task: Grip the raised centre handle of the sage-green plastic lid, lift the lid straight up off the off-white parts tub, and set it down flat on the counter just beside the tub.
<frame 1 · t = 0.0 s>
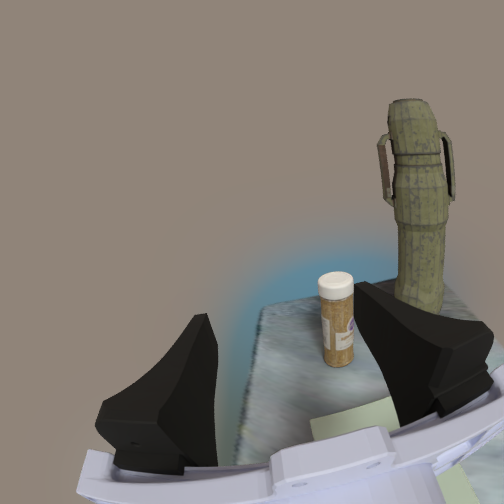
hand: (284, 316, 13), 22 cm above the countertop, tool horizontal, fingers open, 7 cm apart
thermos: (415, 318, 41), on the countertop
sprinkles bottle: (338, 359, 38), on the countertop
lid: (388, 474, 16), point 4 cm above the countertop, touching tub
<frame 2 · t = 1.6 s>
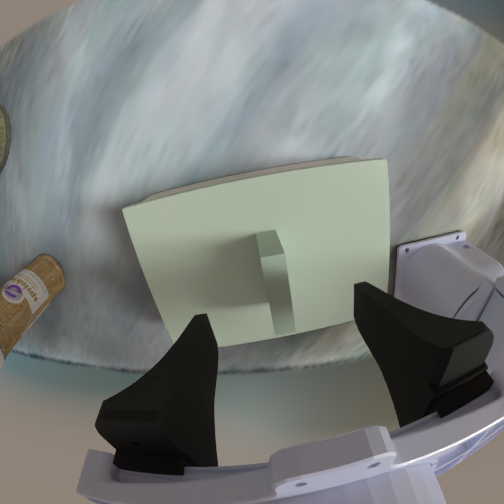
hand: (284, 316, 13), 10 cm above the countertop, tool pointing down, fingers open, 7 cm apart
tub: (264, 238, 22), on the countertop
sprinkles bottle: (50, 272, 23), on the countertop
lid: (269, 257, 19), point 4 cm above the countertop, touching tub
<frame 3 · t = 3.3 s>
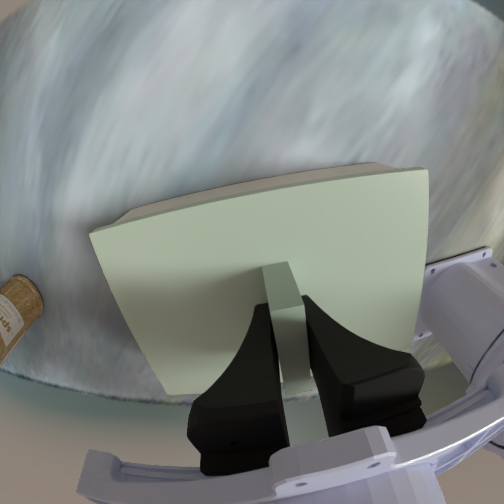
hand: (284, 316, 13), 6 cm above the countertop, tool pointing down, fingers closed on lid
tub: (270, 262, 18), on the countertop
sprinkles bottle: (28, 294, 19), on the countertop
lid: (277, 291, 15), point 4 cm above the countertop, touching gripper, tub
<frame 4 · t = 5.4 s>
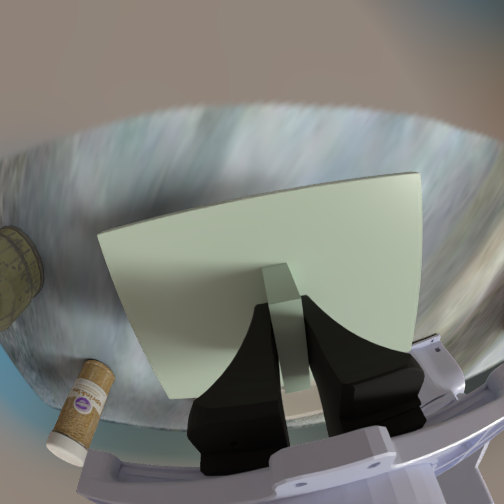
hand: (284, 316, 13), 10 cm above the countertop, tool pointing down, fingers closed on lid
thermos: (18, 262, 22), on the countertop
tub: (277, 361, 28), on the countertop
sprinkles bottle: (99, 369, 29), on the countertop
lid: (278, 294, 15), point 8 cm above the countertop, touching gripper
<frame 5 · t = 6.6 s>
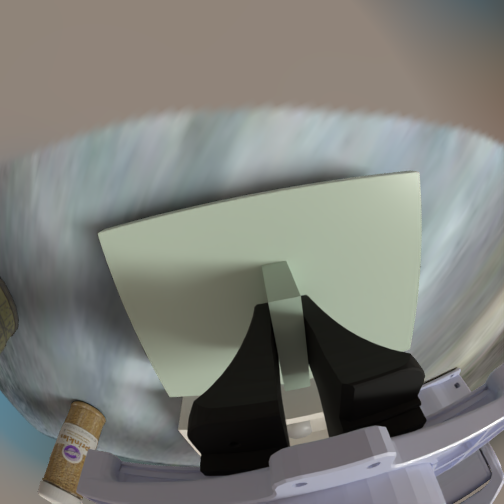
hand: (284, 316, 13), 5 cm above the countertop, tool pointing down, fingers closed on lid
tub: (284, 409, 23), on the countertop
sprinkles bottle: (89, 410, 23), on the countertop
lid: (277, 292, 16), point 2 cm above the countertop, touching gripper
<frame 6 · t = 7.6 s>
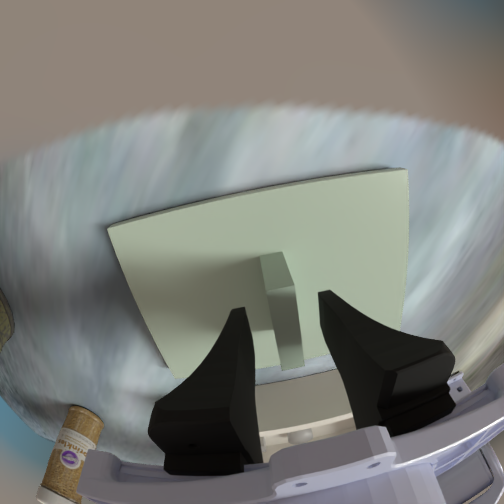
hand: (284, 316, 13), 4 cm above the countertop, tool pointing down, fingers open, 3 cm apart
tub: (285, 415, 22), on the countertop
sprinkles bottle: (87, 414, 23), on the countertop
lid: (274, 279, 17), on the countertop
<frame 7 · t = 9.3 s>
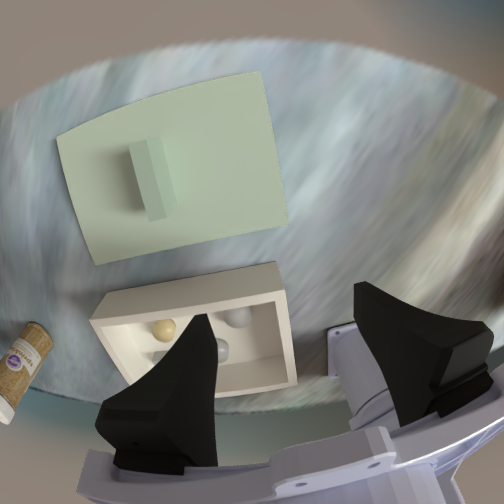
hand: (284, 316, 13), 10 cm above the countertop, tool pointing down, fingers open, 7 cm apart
tub: (201, 327, 26), on the countertop
sprinkles bottle: (40, 334, 26), on the countertop
lid: (166, 170, 20), on the countertop
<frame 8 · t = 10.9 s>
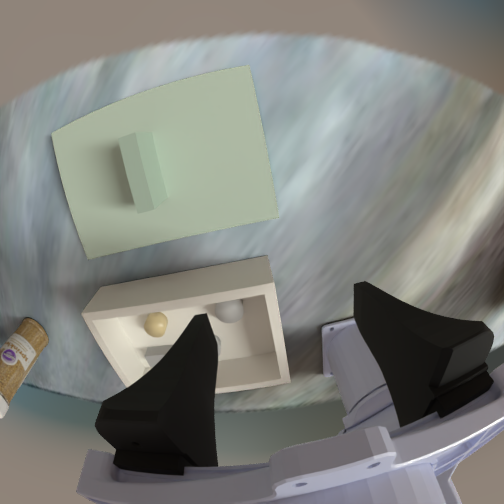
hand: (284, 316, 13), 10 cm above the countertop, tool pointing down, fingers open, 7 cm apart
tub: (193, 323, 25), on the countertop
sprinkles bottle: (36, 330, 26), on the countertop
lid: (157, 164, 20), on the countertop
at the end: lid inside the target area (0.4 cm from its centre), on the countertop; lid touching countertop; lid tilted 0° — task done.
